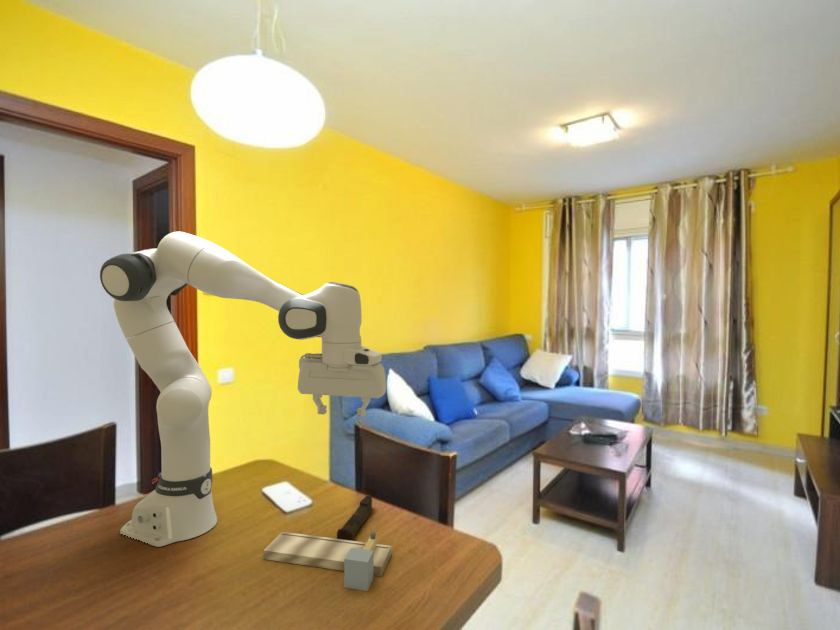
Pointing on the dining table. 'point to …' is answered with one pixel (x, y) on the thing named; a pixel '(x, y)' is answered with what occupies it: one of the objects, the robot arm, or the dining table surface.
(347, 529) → the rusty railroad spike
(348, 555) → the grey mallet
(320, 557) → the board
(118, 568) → the dining table surface
